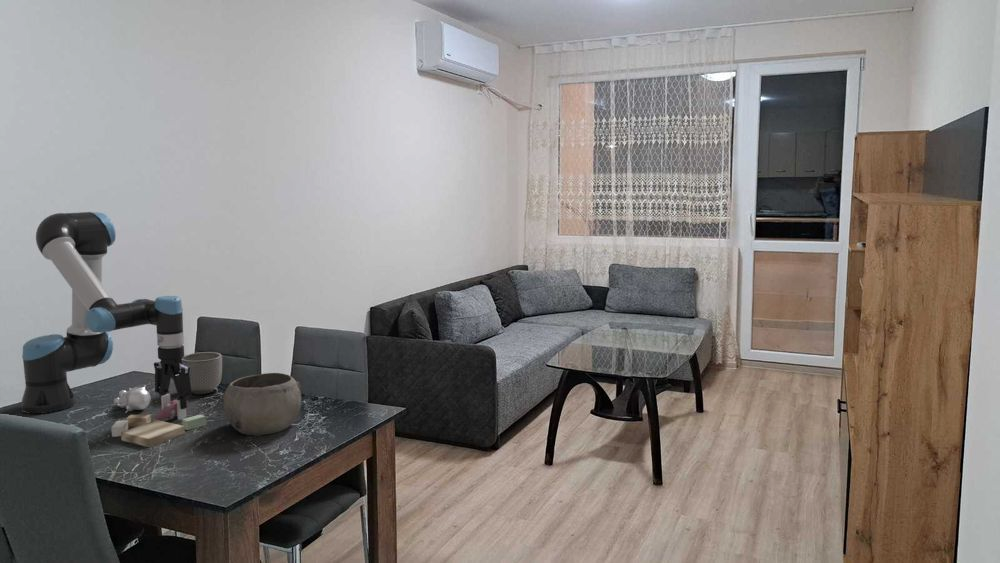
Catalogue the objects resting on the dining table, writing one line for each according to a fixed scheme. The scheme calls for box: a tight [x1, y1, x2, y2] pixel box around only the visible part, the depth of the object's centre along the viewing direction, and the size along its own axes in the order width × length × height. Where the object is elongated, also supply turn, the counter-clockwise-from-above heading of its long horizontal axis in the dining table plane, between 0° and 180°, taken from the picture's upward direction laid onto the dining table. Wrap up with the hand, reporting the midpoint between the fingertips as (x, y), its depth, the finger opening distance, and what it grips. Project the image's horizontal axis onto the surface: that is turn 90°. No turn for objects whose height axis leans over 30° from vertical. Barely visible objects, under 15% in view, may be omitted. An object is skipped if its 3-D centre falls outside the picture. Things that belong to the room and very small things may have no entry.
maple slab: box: [120, 419, 186, 448], centre depth 209 cm, size 12×12×2 cm
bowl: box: [221, 372, 302, 436], centre depth 218 cm, size 23×23×15 cm
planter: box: [182, 351, 223, 395], centre depth 253 cm, size 14×14×13 cm
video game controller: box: [155, 398, 190, 421], centre depth 224 cm, size 10×5×7 cm, turn 165°
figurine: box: [113, 384, 152, 414], centre depth 235 cm, size 11×7×15 cm
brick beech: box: [125, 414, 152, 428], centre depth 219 cm, size 6×3×3 cm, turn 93°
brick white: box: [111, 419, 129, 438], centre depth 212 cm, size 6×3×3 cm, turn 15°
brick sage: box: [181, 414, 207, 431], centre depth 218 cm, size 6×3×3 cm, turn 142°
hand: (174, 416), depth 225 cm, fingers closed on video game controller, 6 cm apart
